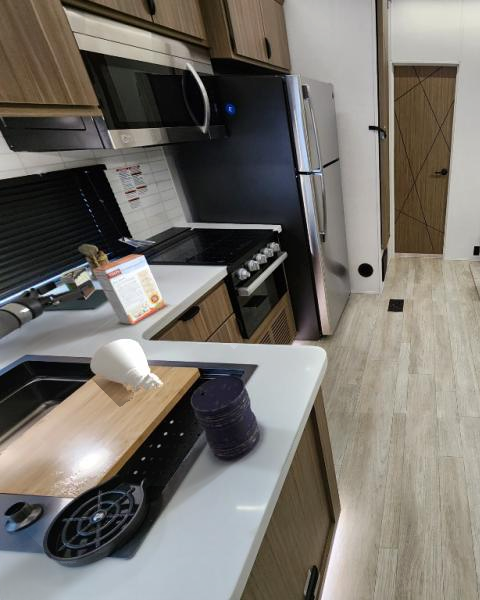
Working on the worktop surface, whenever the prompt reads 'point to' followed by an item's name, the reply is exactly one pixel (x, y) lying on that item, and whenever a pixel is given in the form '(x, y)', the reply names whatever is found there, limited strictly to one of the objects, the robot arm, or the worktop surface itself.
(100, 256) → the tan yellow lumpy piece
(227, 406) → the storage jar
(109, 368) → the rocket engine
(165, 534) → the worktop surface
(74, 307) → the side mat
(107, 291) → the cracker box
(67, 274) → the food container
